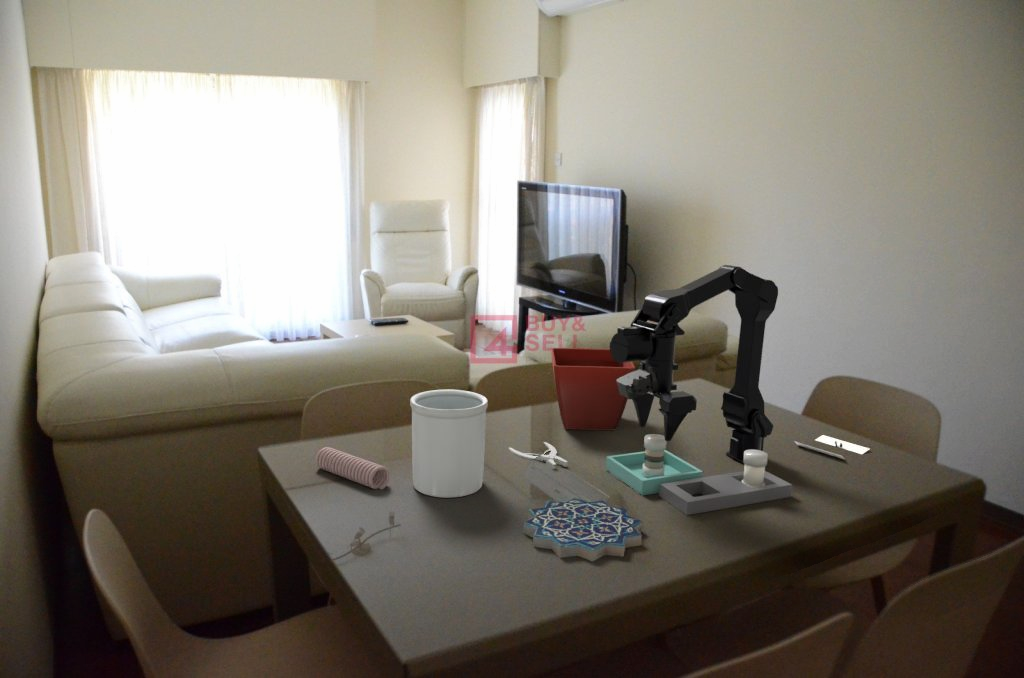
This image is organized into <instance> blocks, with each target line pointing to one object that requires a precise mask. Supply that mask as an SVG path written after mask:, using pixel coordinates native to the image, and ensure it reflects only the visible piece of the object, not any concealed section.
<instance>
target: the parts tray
mask: <svg viewBox="0 0 1024 678" xmlns="http://www.w3.org/2000/svg"><path fill="white" fill-rule="evenodd" d="M644 457H645V450H644V451H639V452H637V451H636V452H630V453H629V452H628V453H623V454H615V455H608V456H606V457H605V458H606V462H605V471H606V470H607V472H608V471H609V472H610V473H612V474H613V475H615V476H616V477H617V478H616V477H615V476H614V477H615V478H616V479H618V478H619V479H620V480H622V481H623V482H625V483H626V484H627V485H629V486H630V487H631V488H630V487H629V486H628V487H629V488H630V489H632V488H633V489H634V490H633V489H632V490H633V491H635V492H636V491H637V492H638V493H637V492H636V493H637V494H639V495H640V494H641V495H640V496H646V495H652V494H653V495H654V494H659V493H660V484H664V483H670V482H677V481H683V480H690V479H696V478H703V477H704V471H703V470H701V469H699V468H698V467H696V466H694V465H693V464H691V463H689V462H687V461H685V460H684V459H682V458H681V457H679V456H677V455H675V454H674V453H672V452H670V451H668V450H666V449H665V450H664V463H663V465H664V466H665V470H664V476H659V477H653V478H646V477H644V476H643V475H642V469H643V464H644V461H645V459H644ZM609 472H608V473H609ZM610 473H609V474H610ZM612 474H611V475H612ZM613 475H612V476H613ZM619 479H618V480H619ZM620 480H619V481H620ZM622 481H621V482H622ZM623 482H622V483H623ZM625 483H624V484H625ZM626 484H625V485H626ZM627 485H626V486H627Z"/></svg>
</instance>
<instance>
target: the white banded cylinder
mask: <svg viewBox="0 0 1024 678" xmlns="http://www.w3.org/2000/svg"><path fill="white" fill-rule="evenodd" d="M643 442H644V443H643V447H644V448H645V450H644V451H645V457H644V459H645V461H644V464H643V469H642V475H643V476H644V477H646V478H653V477H659V476H664V470H665V466H664V465H663V463H664V450H666V449H667V443H668V441H665V436H664V435H662V434H658V433H657V434H655V433H650V434H645V435H644V440H643Z"/></svg>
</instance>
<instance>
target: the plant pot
mask: <svg viewBox="0 0 1024 678" xmlns="http://www.w3.org/2000/svg"><path fill="white" fill-rule="evenodd" d="M550 352H551V353H550V354H551V363H552V371H553V379H554V385H555V393H556V398H557V405H558V409H559V415H560V418H561V422H562V426H563V428H564V429H566V430H583V431H584V430H587V431H588V430H589V431H592V430H593V431H615V430H617V428H618V426H619V424H620V421H621V419H622V417H623V414H624V412H625V409H626V405H627V403H628V400H629V399H628V398H627V397H625V396H623V395H620V392H619V388H618V385H617V381H616V380H617V379H618V378H620V377H622V376H624V375H626V374H628V373H631V372H634V371H636V366H635V365H634V362H624V363H617V362H616V361H615V360H614V359H613V357H612V356H611V353H610V348H609V349H605V348H574V347H573V348H572V347H571V348H569V347H566V348H565V347H554V348H551V349H550Z"/></svg>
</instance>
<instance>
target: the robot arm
mask: <svg viewBox="0 0 1024 678" xmlns="http://www.w3.org/2000/svg"><path fill="white" fill-rule="evenodd" d="M726 291H729V292H731V294H734V295H735V296H734V300H735V304H734V305H735V308H736V310H737V312H738V315H739V317H740V326H739V327H740V328H739V329H740V330H739V338H738V348H737V358H736V366H735V377H734V384H733V386H732V387H731V388H730V389H729V391H724V392H723V394H722V405H721V407H720V409H721V411H722V416H723V418H725V424H726V427H727V428H730V429H732V432H731V437H730V440H729V441H730V442H729V451H725V455H727V456H728V457H730V458H732V459H734V460H736V461H738V462H740V463H741V464H744V463H743V459H744V451H745V450H751V449H753V450H760V451H764V443H765V438H768V437H767V436H770V435H771V434H772V431H773V428H774V424H773V423H772V422H771V420H770V419H769V418H768V417H767V415H766V414H765V400H764V397H763V395H762V392H761V390H760V388H759V384H760V374H761V367H762V358H763V350H764V349H763V347H764V340H765V339H764V338H765V330H766V323H767V321H768V319H769V318H770V317H771V315H772V314H773V312H774V311H775V309H776V305H777V301H778V297H779V288H778V286H777V285H776V283H775V282H774V281H773V280H771V279H766V278H762V277H760V276H758V275H755V274H753V273H751V272H749V271H747V270H745V269H744V268H742V267H741V266H736V265H731V264H723V265H721V266H719V267H718V268H717V269H716V270H714V271H711V272H710V273H707V274H706V275H703V276H701V277H699V278H697V279H695V280H693V281H691V282H689V283H686V284H685V285H682V286H681V287H678V288H675V289H665V290H660V291H657V292H652V293H650V294H648V295H647V296H645V298H644V301H643V304H642V306H641V307H640V309H638V312H637V313H636V315H635V317H634V318H633V320H632V321H631V323H630V325H629V326H618V327H617V333H615V334H614V335H613V336H612V338H611V340H610V342H609V349H610V353H611V356H612V357H613V359H614V360H615V361H616V362H617V363H624V362H632V363H634V362H639V363H638V369H637V370H635V371H634V372H631V373H628V374H626V375H624V376H622V377H620V378H618V379H617V380H616V381H617V385H618V388H619V392H620V395H623V396H625V397H627V398H628V400H631V401H632V403H633V406H634V409H635V413H636V416H637V417H636V418H637V419H638V420H637V421H638V424H639V427H640V428H645V427H646V426H647V422H648V421H649V416H650V413H651V409H652V406H653V402H654V399H655V397H656V398H657V399H659V402H658V404H659V407H660V408H658V411H659V412H660V413H661V415H662V416H663V430H664V431H663V432H664V433H663V436H665V441H667V442H670V441H671V440H672V439H673V437H674V435H675V434H676V432H677V430H678V429H679V427H680V425H681V424H682V422H683V420H684V419H685V418H686V417H687V416H688V414H691V413H692V412H693V411H697V404H698V403H697V402H698V401H697V398H696V397H695V396H694V395H693V394H690V393H688V392H686V391H683V390H681V391H678V389H677V388H678V387H677V386H678V385H677V384H676V383H674V382H673V381H674V371H677V370H679V364H678V363H675V350H676V337H677V336H684V335H685V333H686V332H685V330H683V329H682V328H681V327H680V326H679V323H681V322H682V321H683V320H685V318H687V317H688V316H689V314H690V312H691V310H692V309H693V308H695V307H697V306H699V305H702V303H704V302H707V301H709V300H711V299H713V298H715V297H717V296H718V295H719V296H720V295H721V294H722V293H724V292H726ZM672 391H673V392H672Z"/></svg>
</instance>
